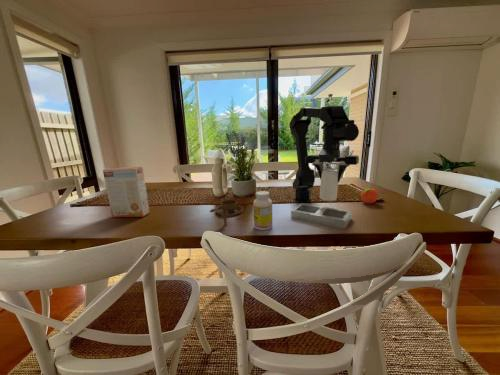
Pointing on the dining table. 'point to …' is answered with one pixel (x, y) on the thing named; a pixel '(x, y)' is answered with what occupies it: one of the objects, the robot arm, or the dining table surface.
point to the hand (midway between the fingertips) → (330, 181)
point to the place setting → (228, 209)
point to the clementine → (369, 195)
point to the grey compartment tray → (322, 215)
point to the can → (329, 184)
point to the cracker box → (126, 191)
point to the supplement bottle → (262, 211)
